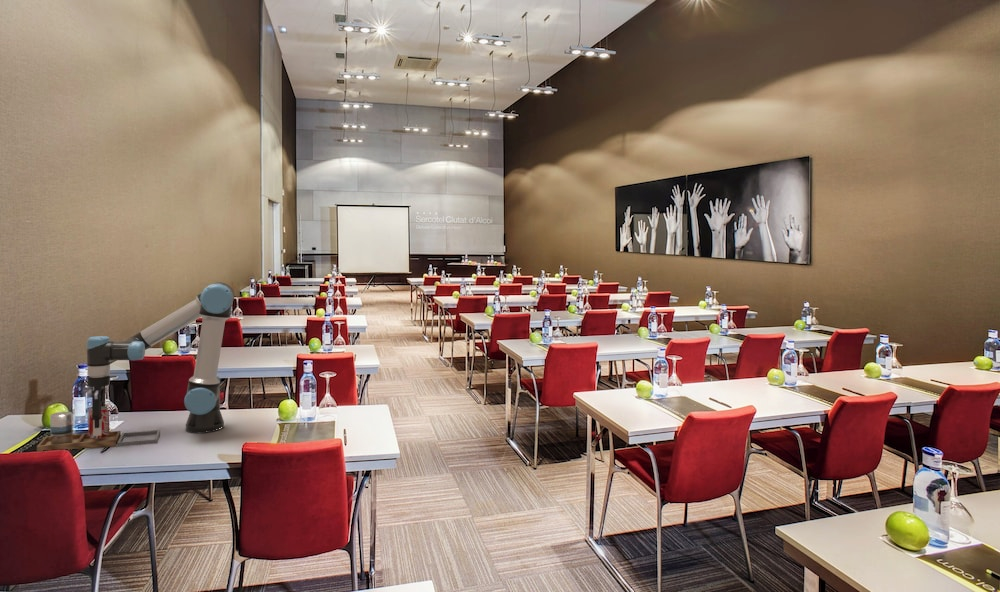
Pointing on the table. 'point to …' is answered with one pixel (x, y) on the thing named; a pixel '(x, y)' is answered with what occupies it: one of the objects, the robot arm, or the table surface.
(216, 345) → the robot arm
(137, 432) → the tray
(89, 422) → the soda can
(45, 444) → the caddy
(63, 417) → the translucent grey rounded cylinder
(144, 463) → the table surface
